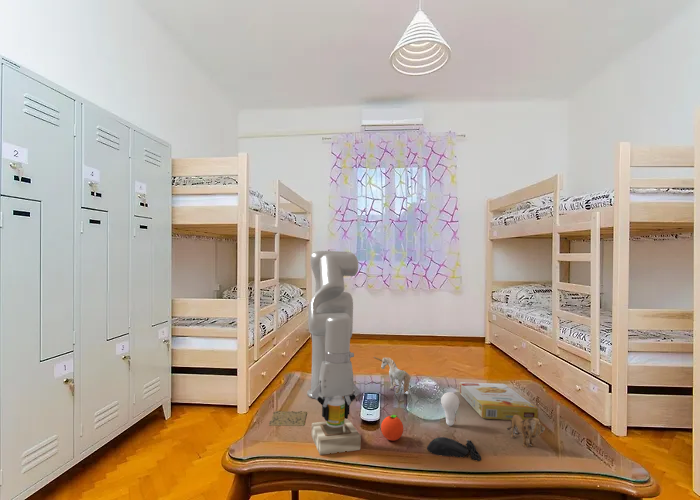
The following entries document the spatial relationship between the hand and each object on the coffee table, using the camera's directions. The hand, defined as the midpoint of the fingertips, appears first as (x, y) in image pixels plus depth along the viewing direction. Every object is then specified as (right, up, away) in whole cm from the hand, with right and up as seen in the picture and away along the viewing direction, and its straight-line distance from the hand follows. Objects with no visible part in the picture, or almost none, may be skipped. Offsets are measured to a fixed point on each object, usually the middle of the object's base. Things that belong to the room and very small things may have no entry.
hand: (335, 417), depth 111 cm
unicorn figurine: (+22, -11, +46) cm, 52 cm away
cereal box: (+61, -11, +34) cm, 71 cm away
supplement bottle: (0, -2, 0) cm, 2 cm away
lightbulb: (+38, -9, +14) cm, 42 cm away
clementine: (+18, -8, +3) cm, 20 cm away
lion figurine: (+59, -9, +4) cm, 60 cm away
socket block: (0, -7, 0) cm, 7 cm away
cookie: (-17, -8, +16) cm, 25 cm away
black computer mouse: (+34, -9, -4) cm, 36 cm away
